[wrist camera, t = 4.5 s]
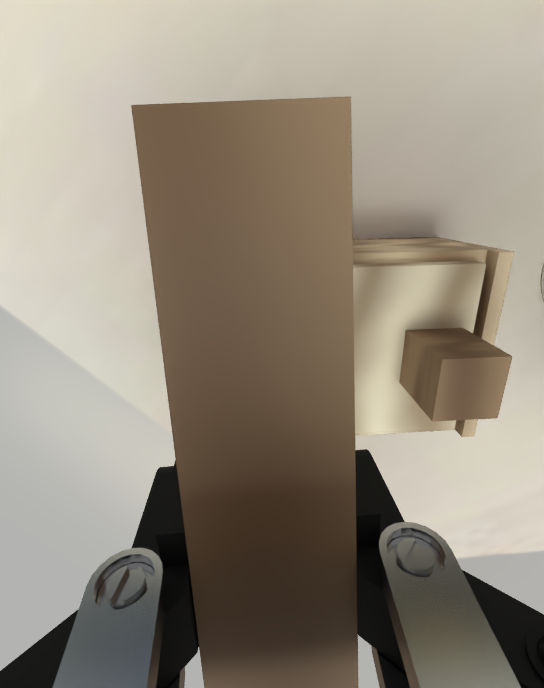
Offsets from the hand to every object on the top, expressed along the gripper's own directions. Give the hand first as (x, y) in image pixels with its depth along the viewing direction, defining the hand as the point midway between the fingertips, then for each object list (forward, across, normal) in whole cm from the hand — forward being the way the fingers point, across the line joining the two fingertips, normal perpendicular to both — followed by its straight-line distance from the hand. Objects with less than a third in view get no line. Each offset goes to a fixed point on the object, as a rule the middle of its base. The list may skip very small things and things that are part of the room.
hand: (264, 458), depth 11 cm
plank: (+2, 0, 0) cm, 2 cm away
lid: (+15, -7, +4) cm, 17 cm away
